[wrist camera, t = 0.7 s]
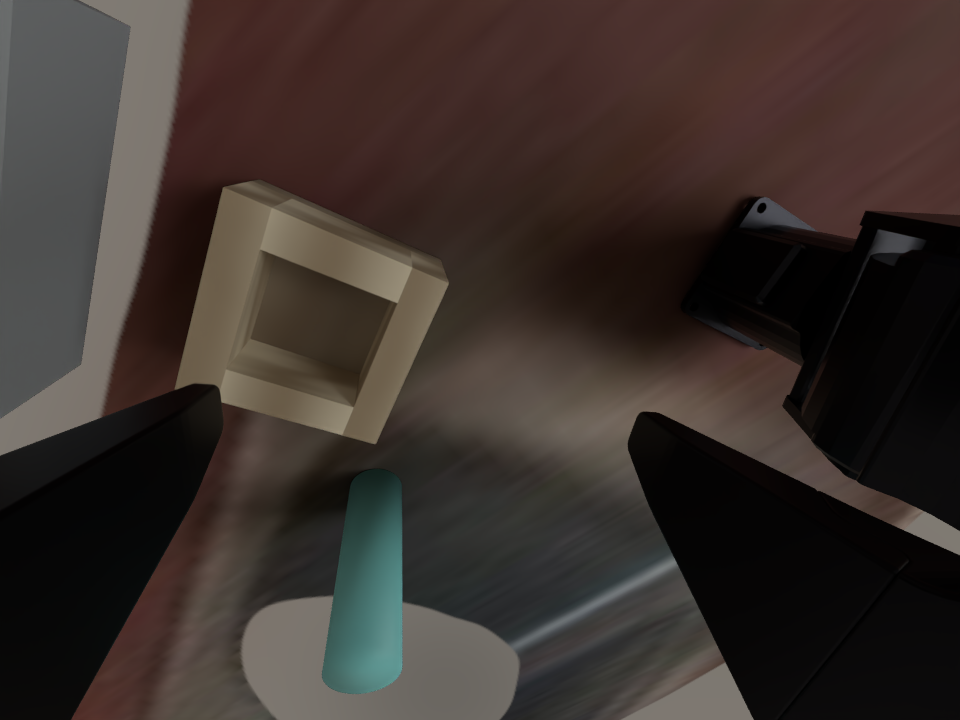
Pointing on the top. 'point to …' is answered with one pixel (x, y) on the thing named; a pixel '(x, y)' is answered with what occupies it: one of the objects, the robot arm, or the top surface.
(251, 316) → the sliding block
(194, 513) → the top surface
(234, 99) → the top surface
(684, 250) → the top surface
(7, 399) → the wall
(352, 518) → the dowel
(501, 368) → the top surface
